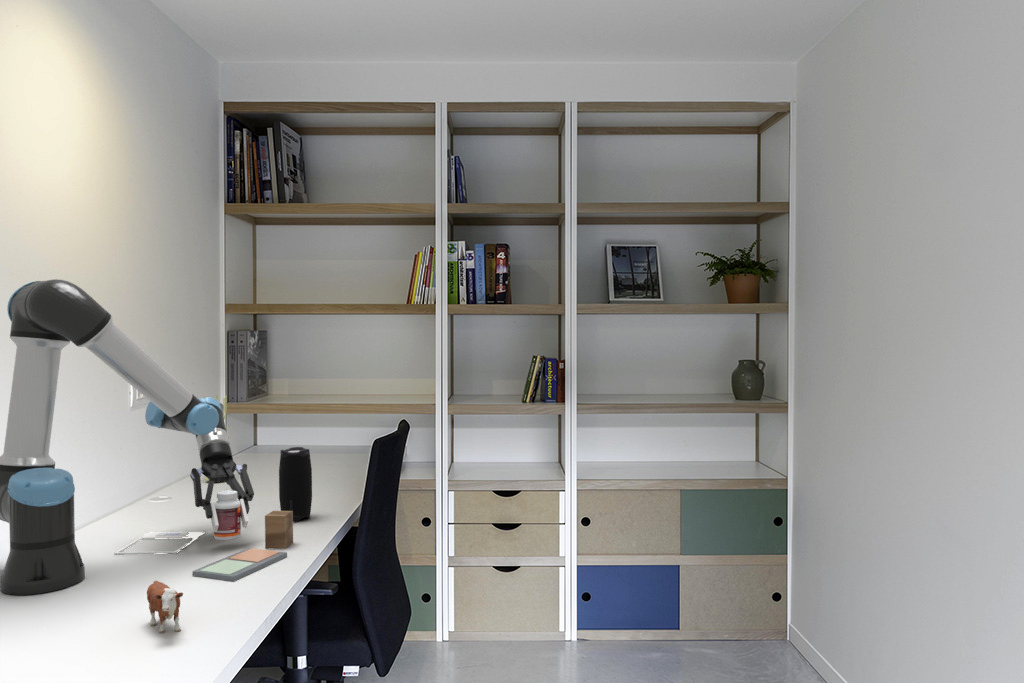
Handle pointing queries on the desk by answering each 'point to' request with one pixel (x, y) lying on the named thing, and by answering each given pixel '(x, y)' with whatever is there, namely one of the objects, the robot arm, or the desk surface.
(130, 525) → the desk surface
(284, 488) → the portable speaker
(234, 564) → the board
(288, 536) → the walnut block
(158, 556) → the desk surface
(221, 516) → the pill bottle
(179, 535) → the photo frame
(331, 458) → the desk surface
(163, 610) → the bull figurine
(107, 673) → the desk surface
